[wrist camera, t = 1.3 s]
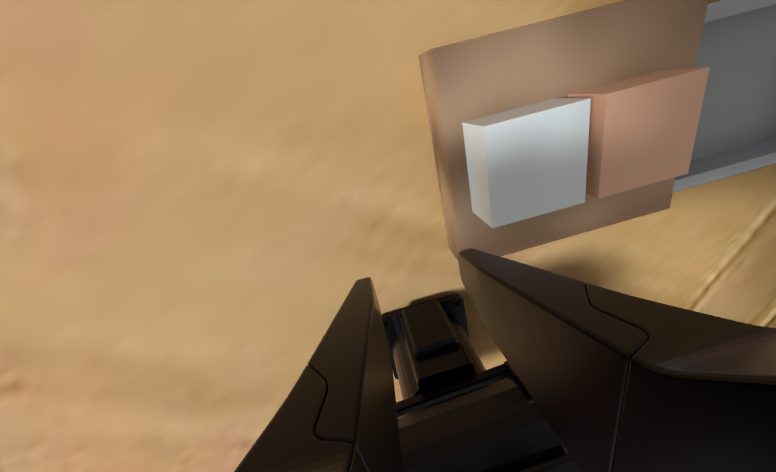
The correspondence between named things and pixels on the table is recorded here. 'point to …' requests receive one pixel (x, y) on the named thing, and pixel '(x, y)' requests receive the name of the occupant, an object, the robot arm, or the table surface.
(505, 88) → the walnut board
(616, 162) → the tile terracotta
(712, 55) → the tray
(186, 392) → the table surface
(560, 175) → the white block
